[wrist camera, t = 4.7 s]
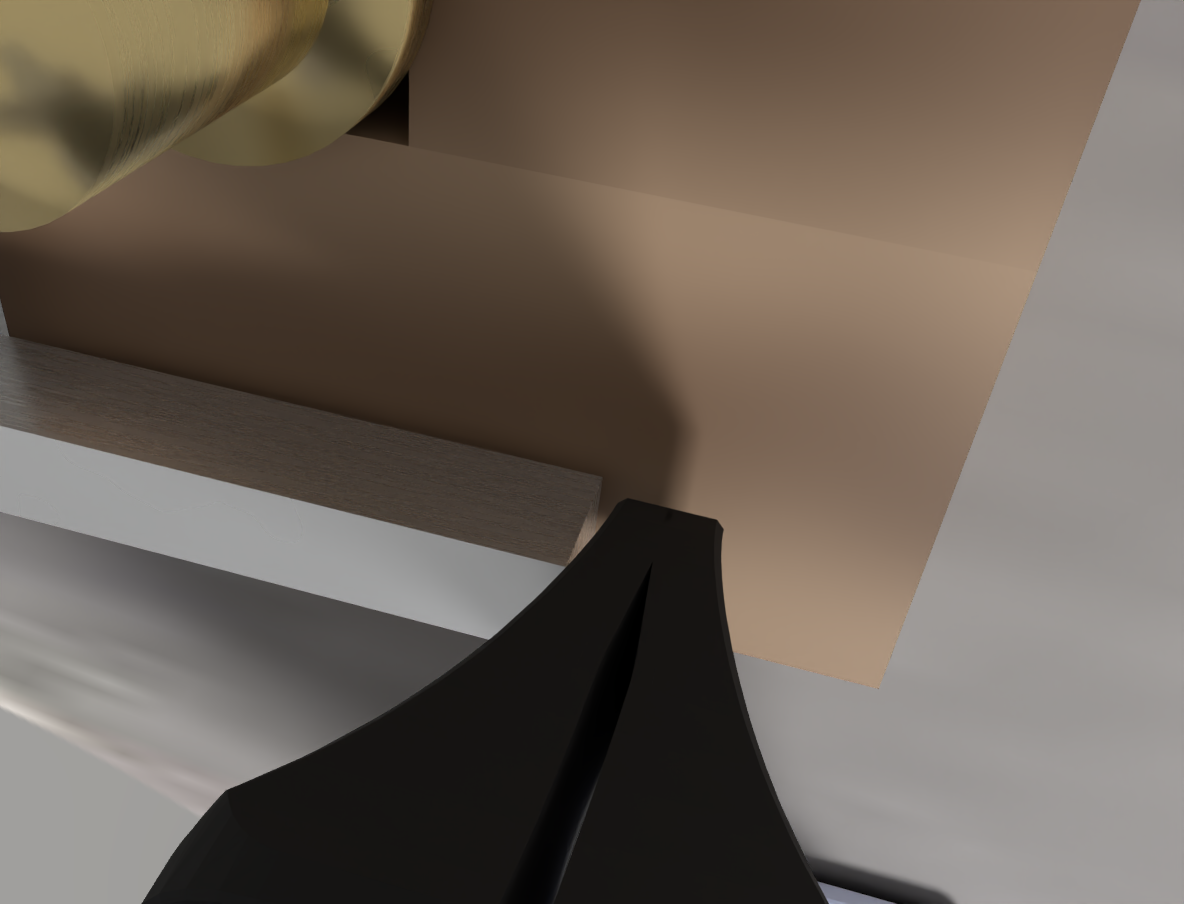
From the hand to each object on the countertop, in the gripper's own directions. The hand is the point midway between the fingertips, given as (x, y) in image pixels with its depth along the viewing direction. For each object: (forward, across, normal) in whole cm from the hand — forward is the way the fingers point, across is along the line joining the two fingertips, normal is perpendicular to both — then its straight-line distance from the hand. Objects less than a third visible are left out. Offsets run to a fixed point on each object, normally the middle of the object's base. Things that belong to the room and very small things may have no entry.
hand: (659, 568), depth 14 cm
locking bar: (+1, +6, -2) cm, 7 cm away
